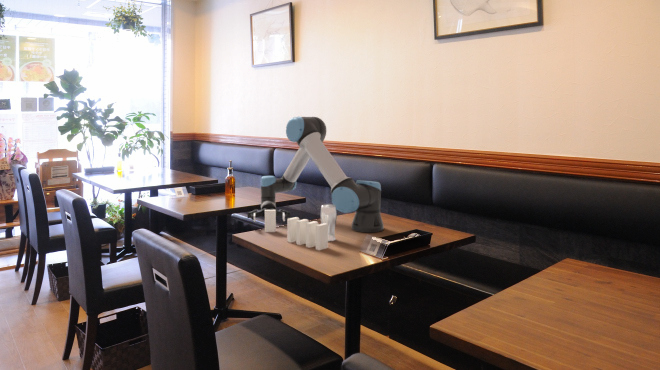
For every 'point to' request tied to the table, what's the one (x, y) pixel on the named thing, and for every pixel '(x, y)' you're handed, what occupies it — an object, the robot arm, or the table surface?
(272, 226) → the tile
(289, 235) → the tile
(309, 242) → the tile
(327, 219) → the silver metal tumbler
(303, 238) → the tile
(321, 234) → the tile
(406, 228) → the table surface
